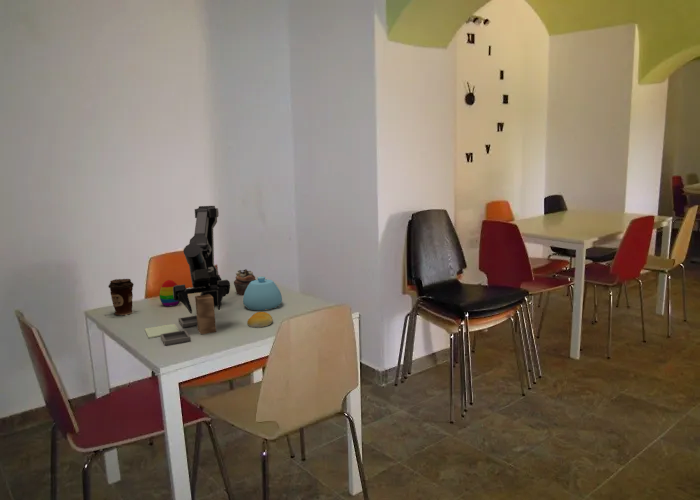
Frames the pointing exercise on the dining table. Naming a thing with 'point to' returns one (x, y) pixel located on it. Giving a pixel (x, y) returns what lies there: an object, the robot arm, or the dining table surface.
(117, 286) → the coffee cup
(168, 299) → the decorative egg
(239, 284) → the cupcake
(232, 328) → the dining table surface
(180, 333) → the tray
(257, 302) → the sugar bowl
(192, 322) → the tray
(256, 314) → the bread roll
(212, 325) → the walnut block
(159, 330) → the pad
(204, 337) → the dining table surface
